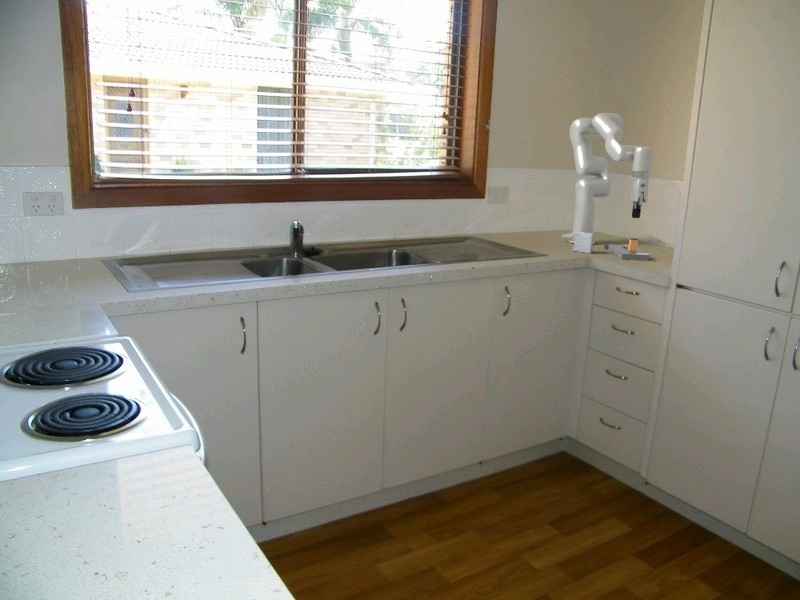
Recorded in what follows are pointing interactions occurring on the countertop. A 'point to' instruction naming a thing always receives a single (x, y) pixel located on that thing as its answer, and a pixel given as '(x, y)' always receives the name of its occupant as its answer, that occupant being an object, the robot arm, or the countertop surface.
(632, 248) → the toggle
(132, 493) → the countertop surface
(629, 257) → the panel
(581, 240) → the medicine box
